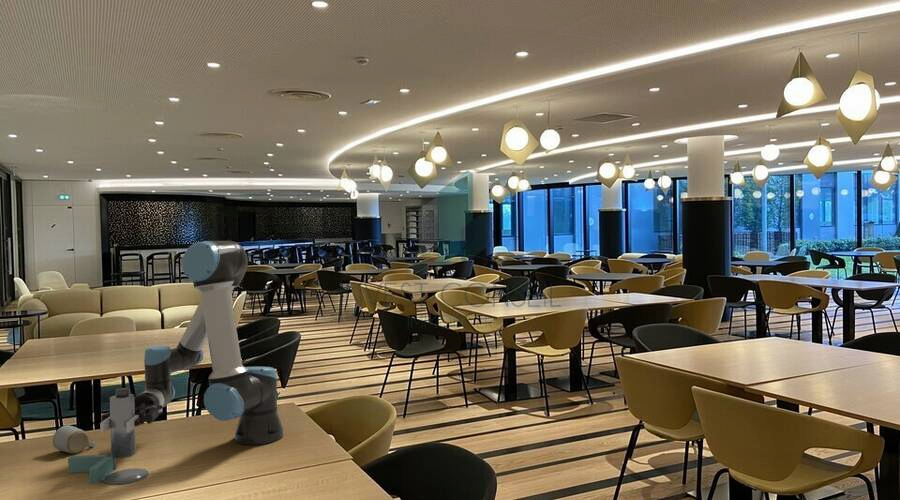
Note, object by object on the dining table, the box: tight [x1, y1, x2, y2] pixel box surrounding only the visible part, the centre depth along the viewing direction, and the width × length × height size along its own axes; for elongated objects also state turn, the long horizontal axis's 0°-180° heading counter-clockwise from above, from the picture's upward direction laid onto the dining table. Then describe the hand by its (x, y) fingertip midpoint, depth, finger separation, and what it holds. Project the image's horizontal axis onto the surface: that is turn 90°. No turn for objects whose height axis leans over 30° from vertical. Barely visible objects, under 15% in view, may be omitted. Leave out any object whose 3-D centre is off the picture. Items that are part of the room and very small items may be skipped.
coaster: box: [103, 467, 149, 486], centre depth 180 cm, size 11×11×1 cm
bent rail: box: [67, 453, 117, 485], centre depth 181 cm, size 12×12×4 cm
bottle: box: [109, 387, 136, 459], centre depth 180 cm, size 6×6×18 cm
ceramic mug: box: [52, 424, 96, 454], centre depth 204 cm, size 11×8×8 cm
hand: (114, 427), depth 175 cm, fingers closed on bottle, 6 cm apart
